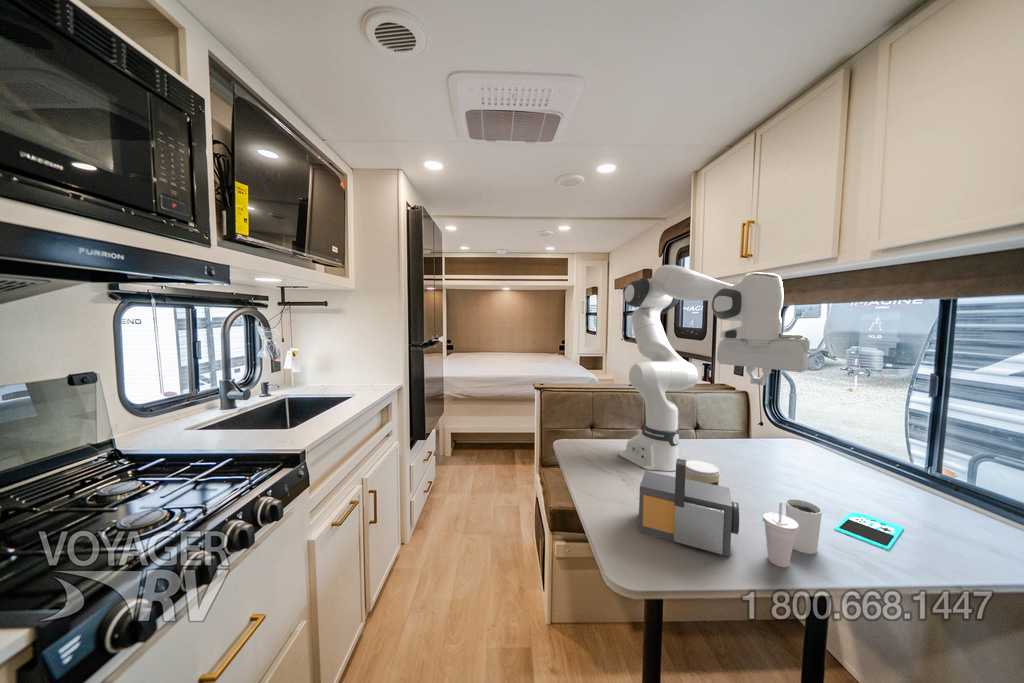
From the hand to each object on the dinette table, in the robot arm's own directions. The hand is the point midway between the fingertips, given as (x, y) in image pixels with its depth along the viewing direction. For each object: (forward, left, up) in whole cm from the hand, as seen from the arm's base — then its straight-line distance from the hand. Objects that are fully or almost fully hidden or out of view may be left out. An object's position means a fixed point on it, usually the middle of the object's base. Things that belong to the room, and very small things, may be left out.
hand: (757, 384), depth 93 cm
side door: (-1, -27, -36) cm, 45 cm away
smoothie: (+11, -15, -37) cm, 42 cm away
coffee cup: (-11, -6, -37) cm, 39 cm away
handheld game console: (+20, +19, -38) cm, 47 cm away
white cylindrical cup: (+12, -4, -37) cm, 39 cm away
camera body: (-7, -23, -37) cm, 44 cm away
